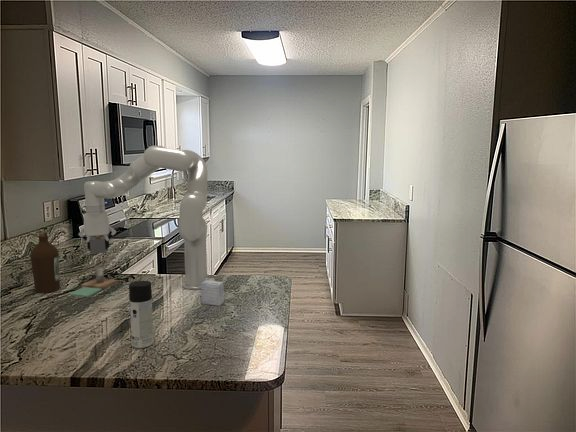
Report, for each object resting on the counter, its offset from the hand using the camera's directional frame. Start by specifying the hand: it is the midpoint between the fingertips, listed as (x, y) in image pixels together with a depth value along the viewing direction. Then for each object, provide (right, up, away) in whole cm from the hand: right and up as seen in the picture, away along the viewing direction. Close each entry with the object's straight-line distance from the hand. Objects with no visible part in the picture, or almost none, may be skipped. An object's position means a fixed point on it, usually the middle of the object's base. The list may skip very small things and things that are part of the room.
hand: (98, 249), depth 193 cm
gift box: (0, -1, 0) cm, 1 cm away
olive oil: (-20, -17, -5) cm, 27 cm away
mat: (-2, -18, -8) cm, 20 cm away
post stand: (-1, -16, +3) cm, 16 cm away
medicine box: (+54, -20, -19) cm, 61 cm away
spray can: (+38, -26, -55) cm, 72 cm away
